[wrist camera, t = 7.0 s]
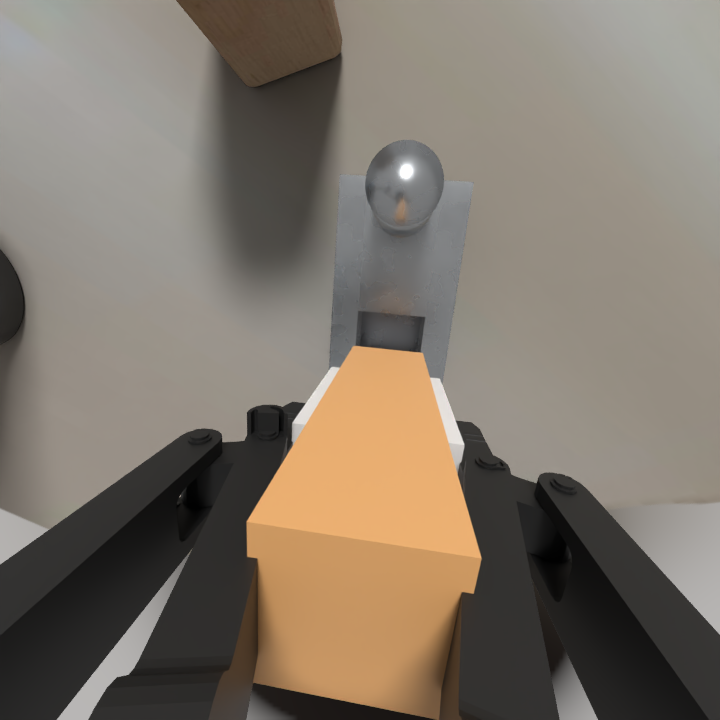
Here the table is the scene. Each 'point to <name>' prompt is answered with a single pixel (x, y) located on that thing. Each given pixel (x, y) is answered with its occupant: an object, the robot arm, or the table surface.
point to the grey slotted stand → (398, 256)
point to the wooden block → (268, 34)
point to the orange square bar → (364, 543)
